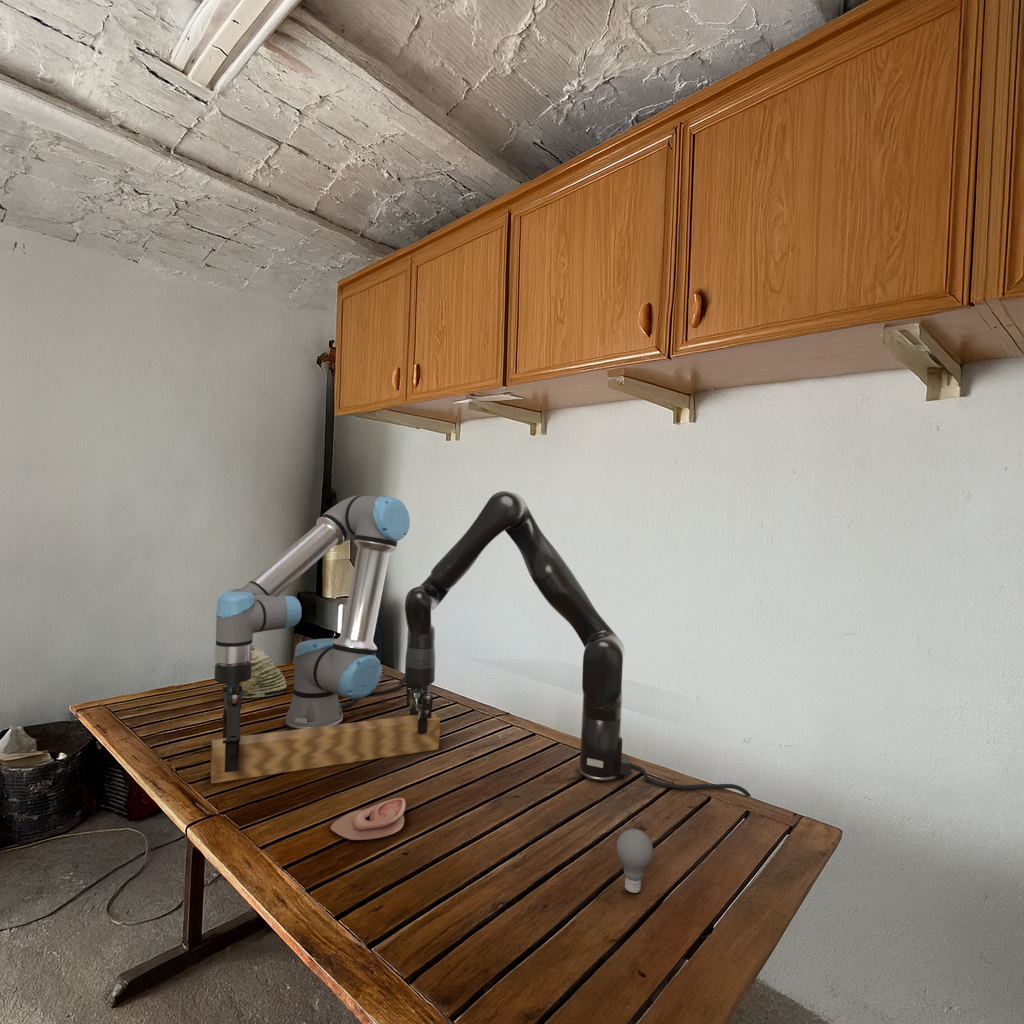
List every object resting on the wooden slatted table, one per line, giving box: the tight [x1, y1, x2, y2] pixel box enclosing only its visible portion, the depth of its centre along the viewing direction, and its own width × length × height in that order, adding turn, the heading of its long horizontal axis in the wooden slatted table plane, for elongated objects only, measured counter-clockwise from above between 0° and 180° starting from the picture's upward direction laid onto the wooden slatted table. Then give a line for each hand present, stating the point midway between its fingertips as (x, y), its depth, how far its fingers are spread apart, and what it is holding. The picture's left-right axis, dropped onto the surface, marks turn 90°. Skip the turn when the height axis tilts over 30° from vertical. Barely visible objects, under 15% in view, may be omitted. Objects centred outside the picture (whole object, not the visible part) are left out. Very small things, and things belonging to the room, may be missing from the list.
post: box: [209, 712, 441, 784], centre depth 152 cm, size 53×5×8 cm, turn 117°
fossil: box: [222, 647, 288, 699], centre depth 198 cm, size 9×18×15 cm, turn 132°
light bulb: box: [615, 828, 654, 894], centre depth 106 cm, size 6×6×10 cm
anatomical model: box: [330, 797, 407, 841], centre depth 123 cm, size 13×4×12 cm
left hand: (229, 761), depth 142 cm, fingers open, 9 cm apart
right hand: (417, 728), depth 162 cm, fingers open, 6 cm apart
